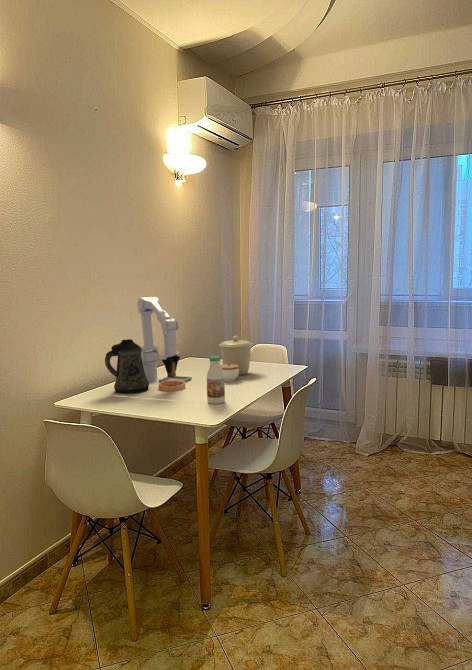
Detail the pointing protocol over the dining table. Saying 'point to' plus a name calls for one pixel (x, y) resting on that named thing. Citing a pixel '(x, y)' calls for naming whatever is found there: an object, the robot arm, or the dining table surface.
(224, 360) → the canister
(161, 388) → the terracotta bowl
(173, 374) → the walnut peg
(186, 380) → the slate tray
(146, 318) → the robot arm
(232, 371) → the lidded jar
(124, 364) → the beer stein
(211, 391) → the milk bottle
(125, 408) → the dining table surface
